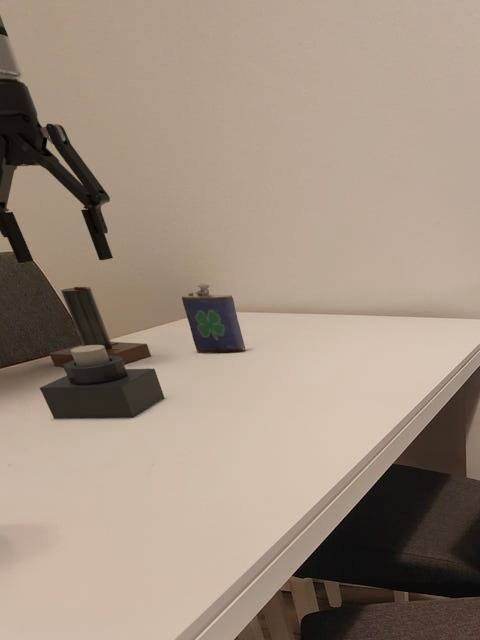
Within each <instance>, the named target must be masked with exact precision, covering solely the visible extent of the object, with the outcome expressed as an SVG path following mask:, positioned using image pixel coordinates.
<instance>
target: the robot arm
mask: <svg viewBox="0 0 480 640" xmlns="http://www.w3.org/2000/svg"><path fill="white" fill-rule="evenodd" d="M22 78H23V72H22V69H21V67H20V64H19V61H18V58H17V56H16V53H15V51H14V48H13V44H12V42H11V40H10V37H9V35H8V32H7V30H6V26H5V24H4V22H3V19H2V16H1V15H0V234H1V236H2V237H3V238H7V240H8V241H7V242H8V243H9V245H10V248H11V250H12V252H13V254H14V256H15V259H16V261H17V263H18V264H23V263H30V262H34V258H33V256H32V253H31V252H30V249H29V247H28V244H27V242H26V239H25V238H24V235H23V233H22V230H21V228H20V226H19V223H18V221H17V219H16V216H15V214H14V212H13V211H10V209H9V208H7V207H8V203H9V197H10V193H11V188H12V183H13V179H14V173H15V171H16V170H17V169H18V167H29V166H34V167H35V166H40V167H41V168H43V169H45V170H46V171H47V172H49V173H50V174H51V175H52V176H53V177H54V178H55V179H56V180H57V181H58V182H59V183H60V184H61V185H62V186H63V187H64V188H65V189H66V190H67V191H68V192H70V193H71V194H72V195H73V197H75V199H76V200H78V201H79V202H80V203H81V204H82V205H83V209H80V212H81V215H82V217H83V219H84V223H85V225H86V227H87V231H88V234H89V236H90V238H91V241H92V244H93V246H94V249H95V252H96V255H97V257H98V259H99V261H107V260H111V259H114V257H113V253H112V251H111V248H110V245H109V242H108V240H107V237H106V234H109V233H108V232H109V231H108V230H109V229H108V226H107V224H106V221H105V218H104V215H103V212H102V206H103V205H105V204H107V203H110V200H111V197H110V195H109V194H108V192H107V191H106V190H105V188H104V187H103V186H102V185H101V183H100V182H99V180H98V179H97V177H96V176H95V175H94V174H93V172H92V171H91V169H90V168H89V167H88V165H87V164H86V162H85V161H84V160H83V158H82V157H81V156H80V154H79V153H78V151H77V150H76V149H75V147H73V145H72V143H71V141H70V139H69V137H68V134H67V133H66V130H65V128H64V126H62V125H61V124H58V123H47V124H45V126H42V125H41V123H40V121H39V117H38V111H37V108H36V105H35V103H34V100H33V98H32V95H31V92H30V90H29V86H27V85H26V84H25V83H24V82H21V79H22ZM48 142H50V144H51V145H53V146H54V148H55V149H56V151H57V152H58V154H59V155H60V156H61V158H62V159H63V161H64V162H65V163H66V165H67V166H68V167H69V168H70V170H71V171H72V172H73V174H72V173H71V172H70V171H69V170H68V169H67V168H66V167H65V166H64V165H63V163H61V162H60V160H59V158H58V157H57V156H56V155H54V153H53V152H52V151H50V149H48V148H47V145H48ZM74 175H75V176H74Z"/></svg>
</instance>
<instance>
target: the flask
mask: <svg viewBox="0 0 480 640" xmlns="http://www.w3.org/2000/svg"><path fill="white" fill-rule="evenodd" d="M197 287H199V288H200V290H197V291H190V292H188V293H187V294H183V295H182V296H181V301H182V304H183V307H184V311H185V314H186V318H187V322H188V324H189V328H190V332H191V336H192V341H193V344H194V347H195V349H196V353H203V354H205V353H207V354H208V353H211V354H213V353H236V352H239V353H240V352H245V350H246V345H245V341H244V338H243V334H242V330H241V325H240V322H239V318H238V314H237V310H236V306H235V300H234V298H233V296H232V295H231V294H210V291H209V287H210V285H209V284H207V283H198V284H197Z"/></svg>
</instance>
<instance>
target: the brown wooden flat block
mask: <svg viewBox="0 0 480 640" xmlns="http://www.w3.org/2000/svg"><path fill="white" fill-rule="evenodd" d="M111 343H112V346H113V347H111V348H109V349H106V352H107V354H108V356H118V357H121V358H122V360H123V363H124V365H127V364H129V363H132V362H135V361H139V360H142V359H145V358H148V357H151V356H152V355H151V351H150V348H149V346H148V343H143V342H142V343H141V342H122V341H111ZM81 346H83V344H82V343H81V344H79V345H75V346H71V347H68V348H64V349H60V350H57V351H53V352H50V353H49V356H50V359H51V361H52V363H53V366H55V367H64V364H65V363H68V362H70V361H73V360H74V358H73V356H72V353H71V349H73V348H77V347H81Z"/></svg>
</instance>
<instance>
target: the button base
mask: <svg viewBox="0 0 480 640" xmlns="http://www.w3.org/2000/svg"><path fill="white" fill-rule="evenodd" d="M108 357H109V360H110V362H108V363H104V364H99V365H93V366H77V365H76V363H75V360H73V361H70V362H68V363H65V364H64V366H63V370H64V371H65V374H66V375H65V376H63V377H60V378H58V379H56V380H54V381H52V382H50V383H47V384H44V385H42V386H40V387H39V390H40V392H41V394H42V396H43V398H44V401H45V403H46V405H47V407H48V409H49V410H50V414H51V416H52V417H53V419H54V420H55V419H56V420H57V419H61V420H62V419H63V420H64V419H133V418H136V417H137V416H139V415H140V414H142V413H143V412H145V411H146V410H148V409H150V408H151V407H152V406H153V405H156V404H157V403H159V402H161V401H162V400H164V399H165V394H164V391H163V389H162V387H161V384H160V380H159V377H158V375H157V371H156V369H155V368H126V366H125V364H124V363H123V360H122V358H121V357H118V356H108Z"/></svg>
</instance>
